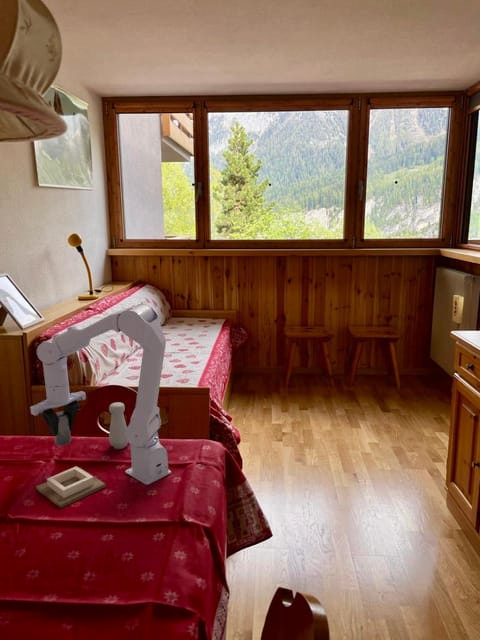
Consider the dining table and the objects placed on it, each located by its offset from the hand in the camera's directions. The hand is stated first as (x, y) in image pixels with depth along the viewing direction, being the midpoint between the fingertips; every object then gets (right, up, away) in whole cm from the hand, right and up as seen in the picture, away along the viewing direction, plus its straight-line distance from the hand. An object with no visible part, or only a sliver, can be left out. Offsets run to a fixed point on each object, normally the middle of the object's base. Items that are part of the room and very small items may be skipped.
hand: (62, 431), depth 134 cm
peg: (0, -3, +1) cm, 3 cm away
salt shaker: (+12, -7, +12) cm, 19 cm away
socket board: (+6, -12, -9) cm, 16 cm away
